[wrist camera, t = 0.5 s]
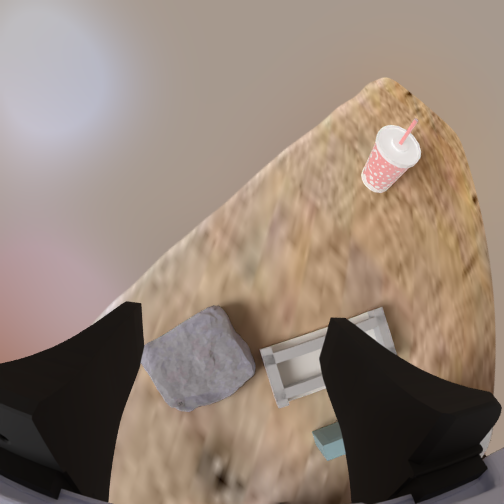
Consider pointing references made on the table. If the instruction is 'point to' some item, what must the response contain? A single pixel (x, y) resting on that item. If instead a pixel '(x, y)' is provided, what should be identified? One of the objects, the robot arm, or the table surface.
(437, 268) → the table surface
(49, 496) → the robot arm
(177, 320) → the table surface
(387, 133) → the beverage cup
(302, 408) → the table surface
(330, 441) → the door panel
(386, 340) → the rectangular tray
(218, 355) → the stone block
